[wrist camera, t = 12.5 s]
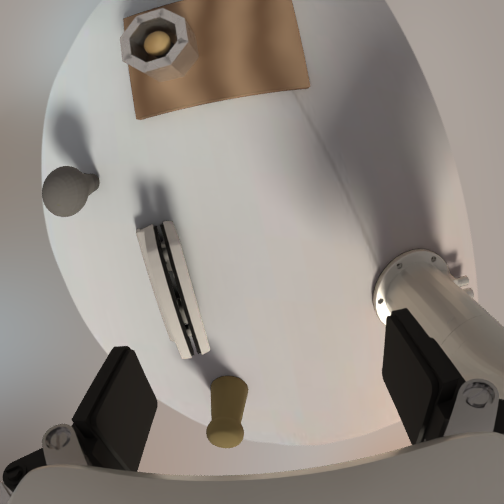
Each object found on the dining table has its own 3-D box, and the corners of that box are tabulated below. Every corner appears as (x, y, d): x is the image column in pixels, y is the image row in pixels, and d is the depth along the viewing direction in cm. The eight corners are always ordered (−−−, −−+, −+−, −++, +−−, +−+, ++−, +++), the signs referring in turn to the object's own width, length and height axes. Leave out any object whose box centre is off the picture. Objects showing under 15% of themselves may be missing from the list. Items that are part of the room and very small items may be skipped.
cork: (252, 380, 46) (251, 433, 36) (243, 404, 48) (241, 456, 38) (214, 372, 46) (205, 425, 36) (207, 397, 48) (199, 448, 38)
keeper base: (286, -11, 28) (292, -38, 21) (308, 88, 33) (320, 76, 26) (127, 22, 29) (104, 3, 22) (140, 119, 34) (116, 116, 27)
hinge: (135, 226, 38) (132, 245, 29) (170, 216, 40) (178, 233, 30) (170, 336, 44) (179, 378, 35) (200, 327, 45) (216, 366, 36)
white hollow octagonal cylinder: (193, 22, 28) (182, 2, 23) (201, 72, 31) (191, 59, 25) (137, 37, 29) (118, 22, 23) (144, 87, 31) (124, 78, 25)
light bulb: (72, 169, 36) (26, 181, 26) (105, 154, 35) (62, 160, 26) (85, 208, 38) (42, 229, 28) (118, 194, 37) (79, 212, 28)
